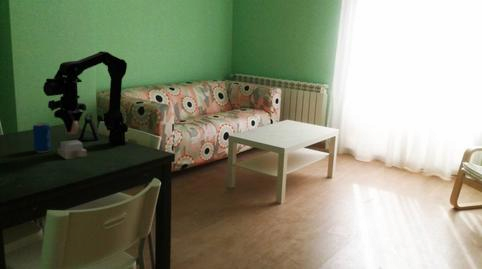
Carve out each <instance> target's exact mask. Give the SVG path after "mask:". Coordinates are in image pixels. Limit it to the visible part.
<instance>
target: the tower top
mask: <svg viewBox="0 0 482 269" xmlns="http://www.w3.org/2000/svg"><path fill="white" fill-rule="evenodd" d="M83 145H84V144H83V142H82V141H79V139H73V140H72V139H71V140H64V141H60V148H61V149H62V150H63V151H64V152H74V151H82V150H83V148H84V147H83Z"/></svg>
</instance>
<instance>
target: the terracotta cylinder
mask: <svg viewBox="0 0 482 269" xmlns="http://www.w3.org/2000/svg"><path fill="white" fill-rule="evenodd" d="M64 134H65V135H77V134H79V123H78V121H77V120H74V122H73V125H72V129H71V132H67V129H66V126H65V125H64Z"/></svg>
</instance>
